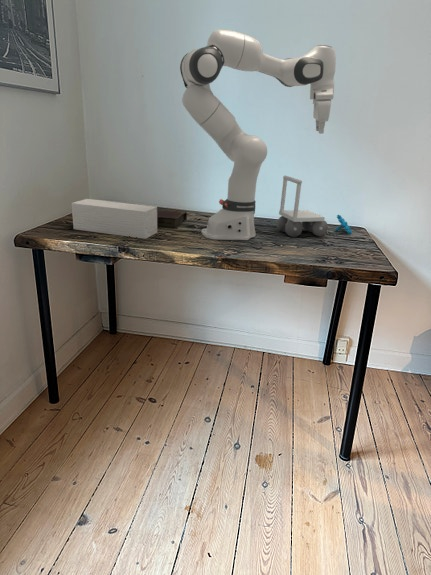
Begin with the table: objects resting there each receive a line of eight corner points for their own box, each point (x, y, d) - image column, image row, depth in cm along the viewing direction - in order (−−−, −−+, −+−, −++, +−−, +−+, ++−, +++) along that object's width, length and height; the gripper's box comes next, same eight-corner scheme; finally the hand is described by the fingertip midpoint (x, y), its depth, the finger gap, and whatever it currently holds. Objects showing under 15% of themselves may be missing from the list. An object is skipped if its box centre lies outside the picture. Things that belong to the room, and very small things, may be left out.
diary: (135, 216, 195) (135, 206, 193) (186, 221, 191) (186, 210, 189) (120, 225, 177) (119, 213, 176) (176, 230, 174) (176, 218, 172)
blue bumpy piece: (350, 232, 176) (337, 213, 177) (339, 240, 179) (326, 222, 180) (355, 231, 185) (342, 213, 187) (344, 238, 188) (331, 221, 189)
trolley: (288, 238, 168) (295, 180, 159) (274, 230, 181) (279, 175, 172) (328, 237, 174) (337, 180, 165) (312, 228, 186) (320, 175, 177)
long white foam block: (157, 232, 168) (157, 206, 164) (145, 239, 158) (145, 211, 154) (88, 224, 176) (86, 198, 172) (73, 229, 166) (71, 202, 162)
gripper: (310, 93, 168) (309, 129, 174) (316, 95, 150) (314, 135, 156) (326, 92, 167) (324, 129, 173) (334, 94, 149) (331, 134, 155)
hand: (319, 132), depth 164 cm, fingers open, 8 cm apart
